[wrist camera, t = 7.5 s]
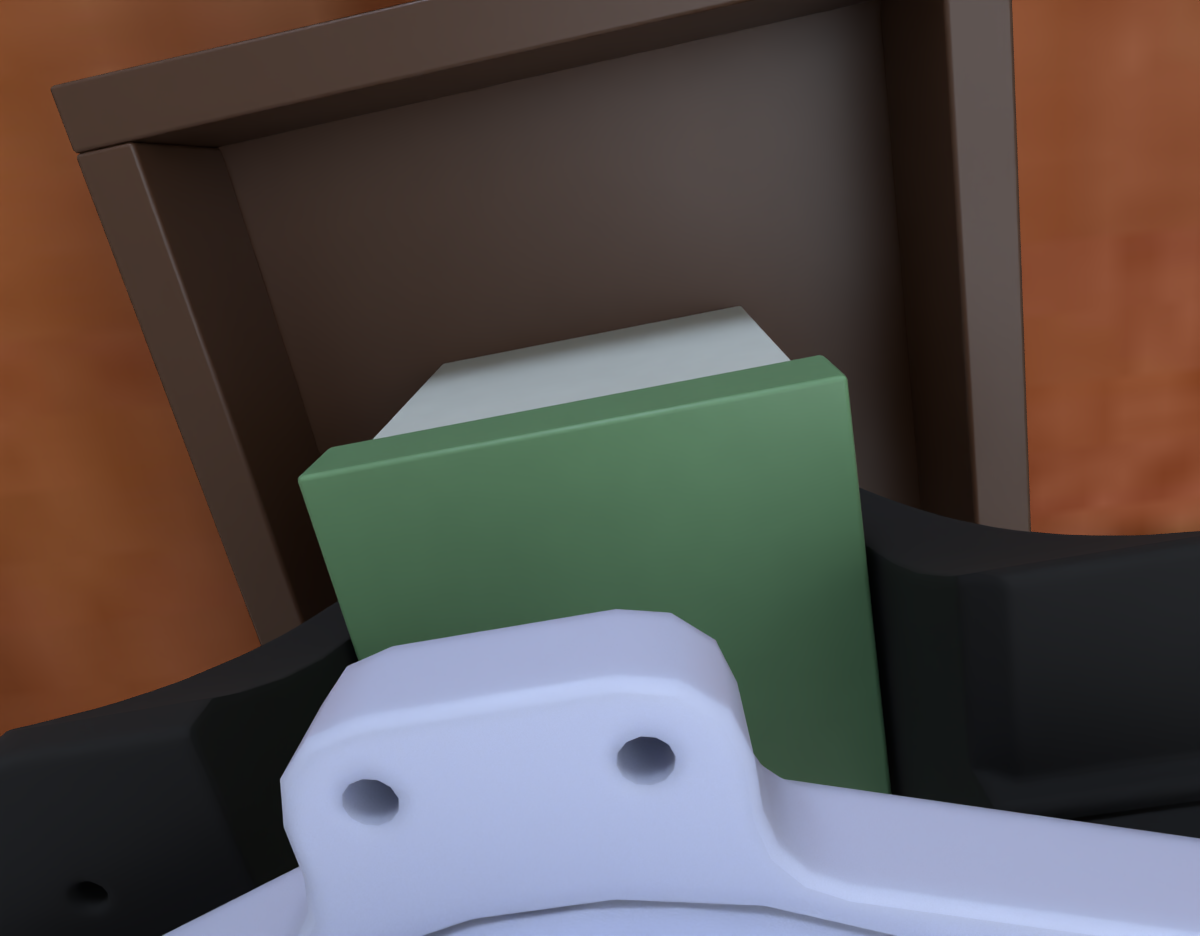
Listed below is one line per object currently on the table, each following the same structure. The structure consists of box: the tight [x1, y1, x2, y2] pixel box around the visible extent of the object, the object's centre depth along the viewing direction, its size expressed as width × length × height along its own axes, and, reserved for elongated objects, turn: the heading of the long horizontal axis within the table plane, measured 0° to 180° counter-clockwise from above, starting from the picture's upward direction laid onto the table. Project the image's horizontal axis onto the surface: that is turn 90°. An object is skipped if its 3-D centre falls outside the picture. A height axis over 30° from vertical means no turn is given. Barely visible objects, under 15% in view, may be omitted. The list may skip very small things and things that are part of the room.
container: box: [298, 306, 892, 795], centre depth 12 cm, size 7×5×6 cm
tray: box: [51, 0, 1031, 646], centre depth 14 cm, size 17×12×3 cm
